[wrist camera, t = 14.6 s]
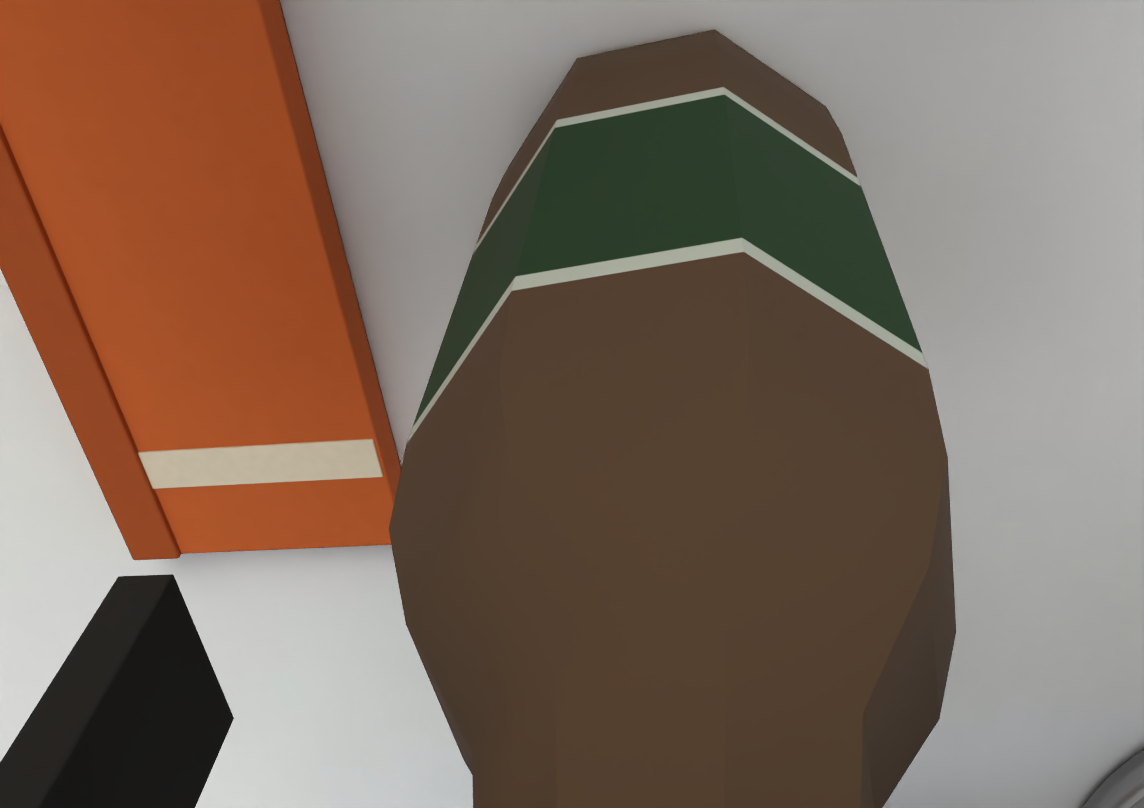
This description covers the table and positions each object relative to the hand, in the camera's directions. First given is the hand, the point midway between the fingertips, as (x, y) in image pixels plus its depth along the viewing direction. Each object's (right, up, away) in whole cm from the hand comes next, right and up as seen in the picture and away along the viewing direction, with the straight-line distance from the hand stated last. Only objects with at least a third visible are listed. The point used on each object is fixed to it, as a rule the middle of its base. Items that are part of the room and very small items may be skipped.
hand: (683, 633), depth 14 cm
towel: (-11, +8, +12) cm, 18 cm away
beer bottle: (+1, +8, +11) cm, 14 cm away
